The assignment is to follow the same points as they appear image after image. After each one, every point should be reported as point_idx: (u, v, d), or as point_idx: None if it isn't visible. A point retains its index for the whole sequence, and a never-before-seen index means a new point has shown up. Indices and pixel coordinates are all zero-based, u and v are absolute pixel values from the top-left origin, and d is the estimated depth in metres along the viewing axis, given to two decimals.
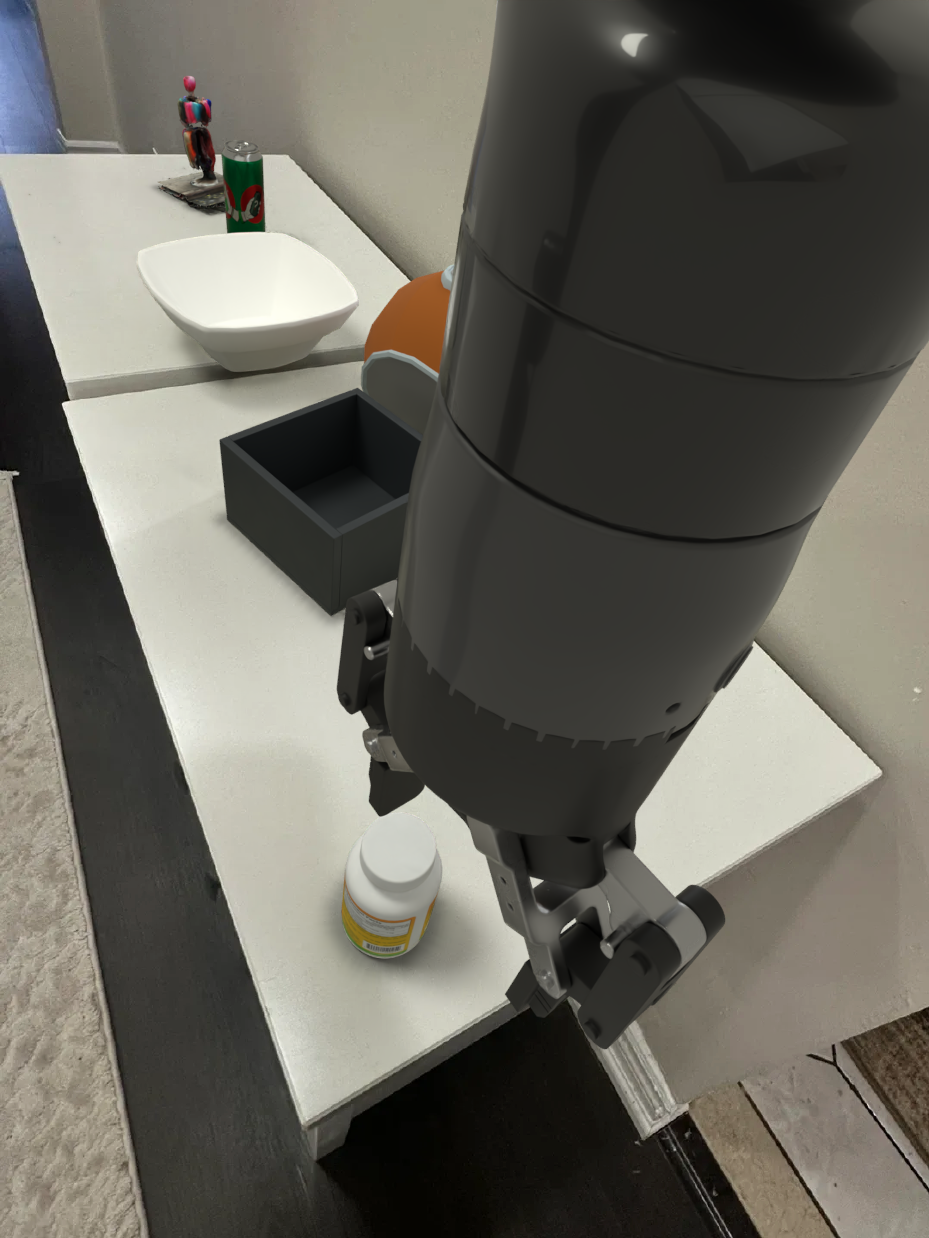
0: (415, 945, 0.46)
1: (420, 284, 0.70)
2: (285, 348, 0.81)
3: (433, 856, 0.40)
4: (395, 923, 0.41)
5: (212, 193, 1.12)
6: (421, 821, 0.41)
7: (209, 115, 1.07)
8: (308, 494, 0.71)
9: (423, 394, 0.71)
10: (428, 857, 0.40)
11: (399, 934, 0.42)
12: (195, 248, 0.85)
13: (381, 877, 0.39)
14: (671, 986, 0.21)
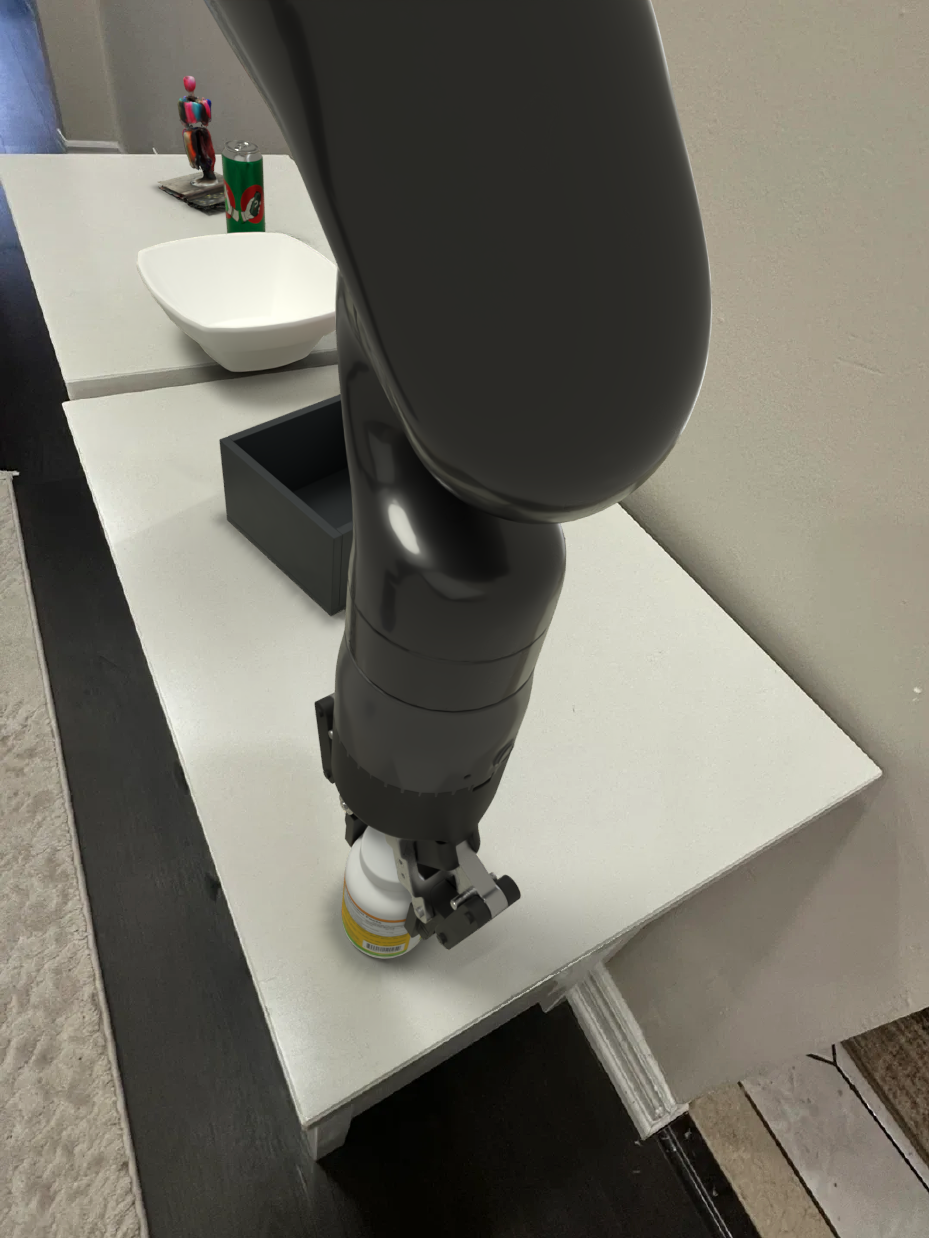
0: (415, 945, 0.46)
1: None
2: (285, 348, 0.81)
3: None
4: (395, 923, 0.41)
5: (212, 193, 1.12)
6: None
7: (209, 115, 1.07)
8: (308, 494, 0.71)
9: None
10: None
11: (399, 933, 0.42)
12: (195, 248, 0.85)
13: (381, 876, 0.39)
14: None
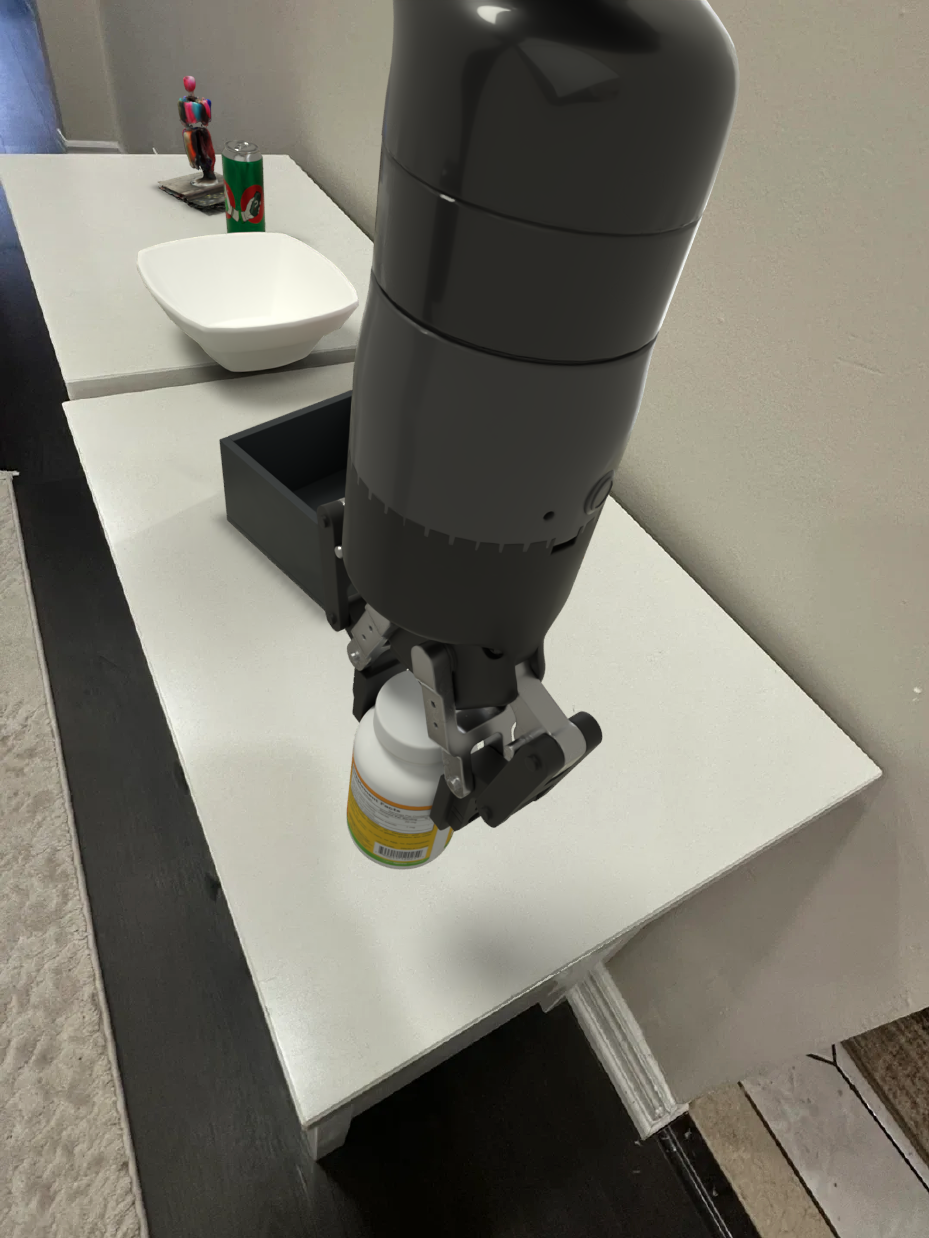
0: (439, 854, 0.36)
1: None
2: (285, 348, 0.81)
3: None
4: (418, 811, 0.32)
5: (212, 193, 1.12)
6: None
7: (209, 115, 1.07)
8: (308, 494, 0.71)
9: None
10: None
11: (421, 829, 0.33)
12: (195, 248, 0.85)
13: (402, 741, 0.30)
14: None
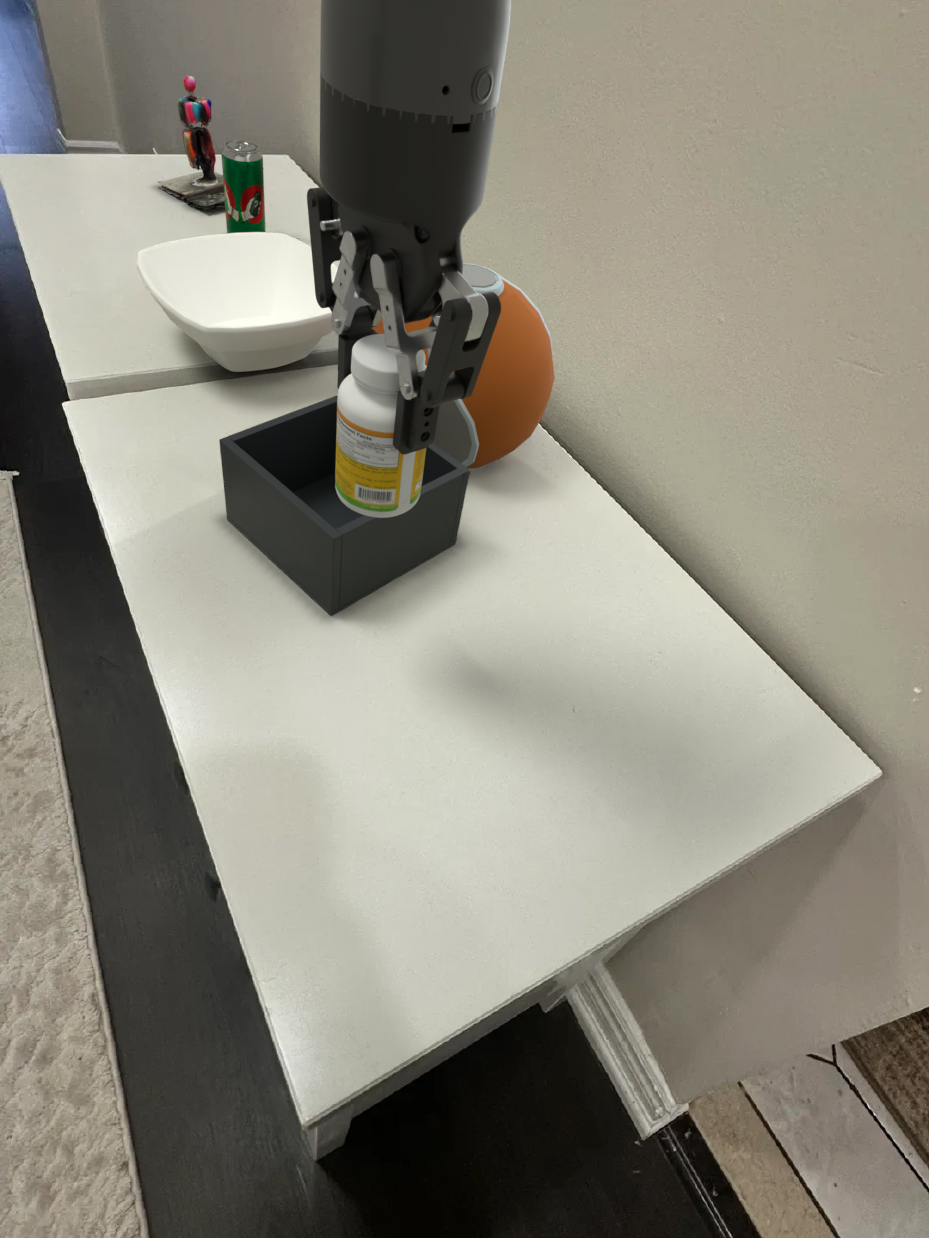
0: (406, 509, 0.47)
1: None
2: (285, 348, 0.81)
3: (422, 361, 0.41)
4: (385, 439, 0.42)
5: (212, 193, 1.12)
6: None
7: (209, 115, 1.07)
8: (308, 494, 0.71)
9: None
10: (417, 361, 0.41)
11: (389, 464, 0.44)
12: (195, 248, 0.85)
13: (370, 367, 0.40)
14: (474, 380, 0.38)
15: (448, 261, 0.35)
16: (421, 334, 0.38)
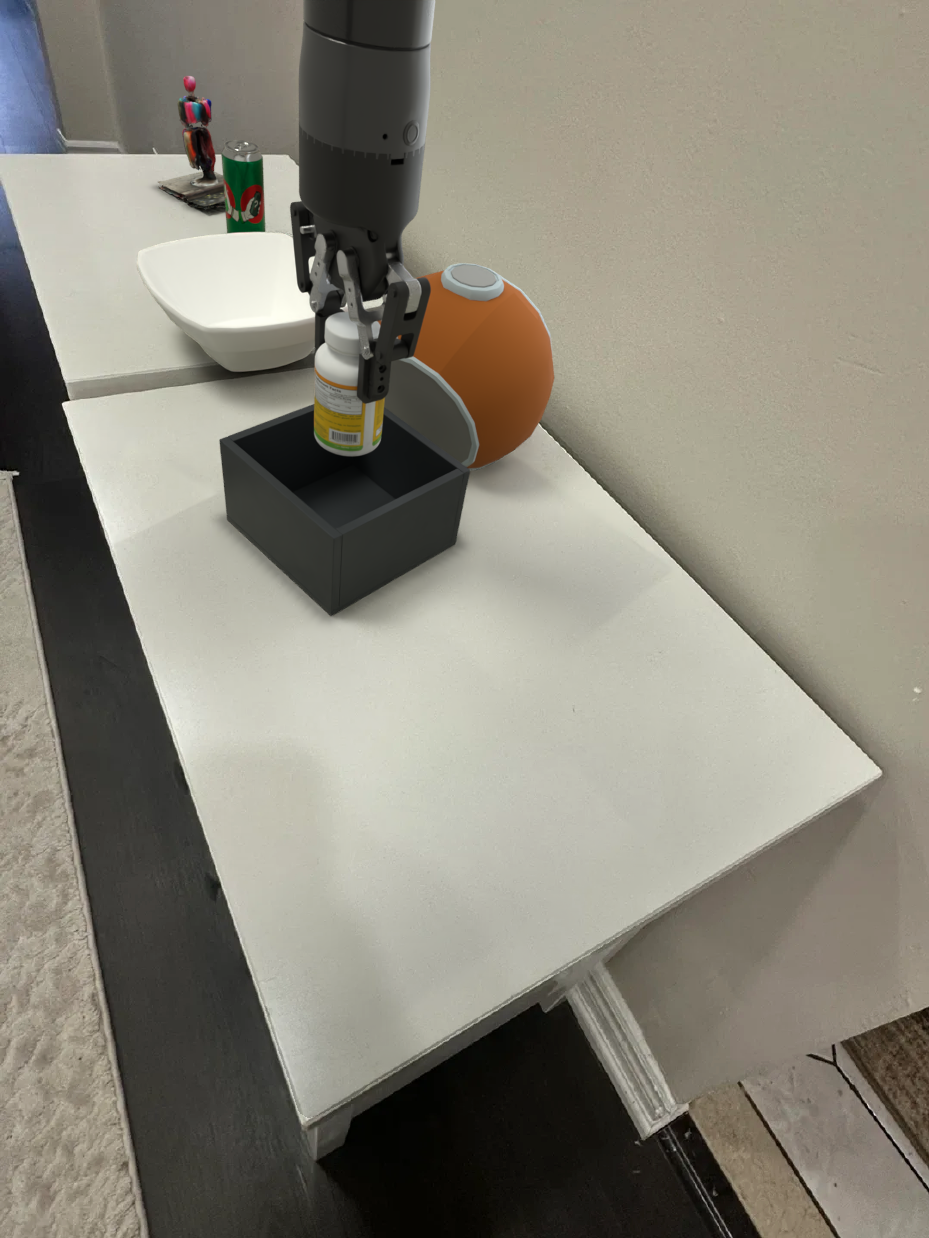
0: (369, 449, 0.60)
1: None
2: (285, 348, 0.81)
3: (378, 331, 0.55)
4: (351, 391, 0.56)
5: (212, 193, 1.12)
6: None
7: (209, 115, 1.07)
8: (308, 494, 0.71)
9: (423, 394, 0.71)
10: (374, 331, 0.55)
11: (355, 411, 0.57)
12: (195, 248, 0.85)
13: (339, 335, 0.54)
14: (415, 344, 0.51)
15: (392, 255, 0.48)
16: (375, 310, 0.51)
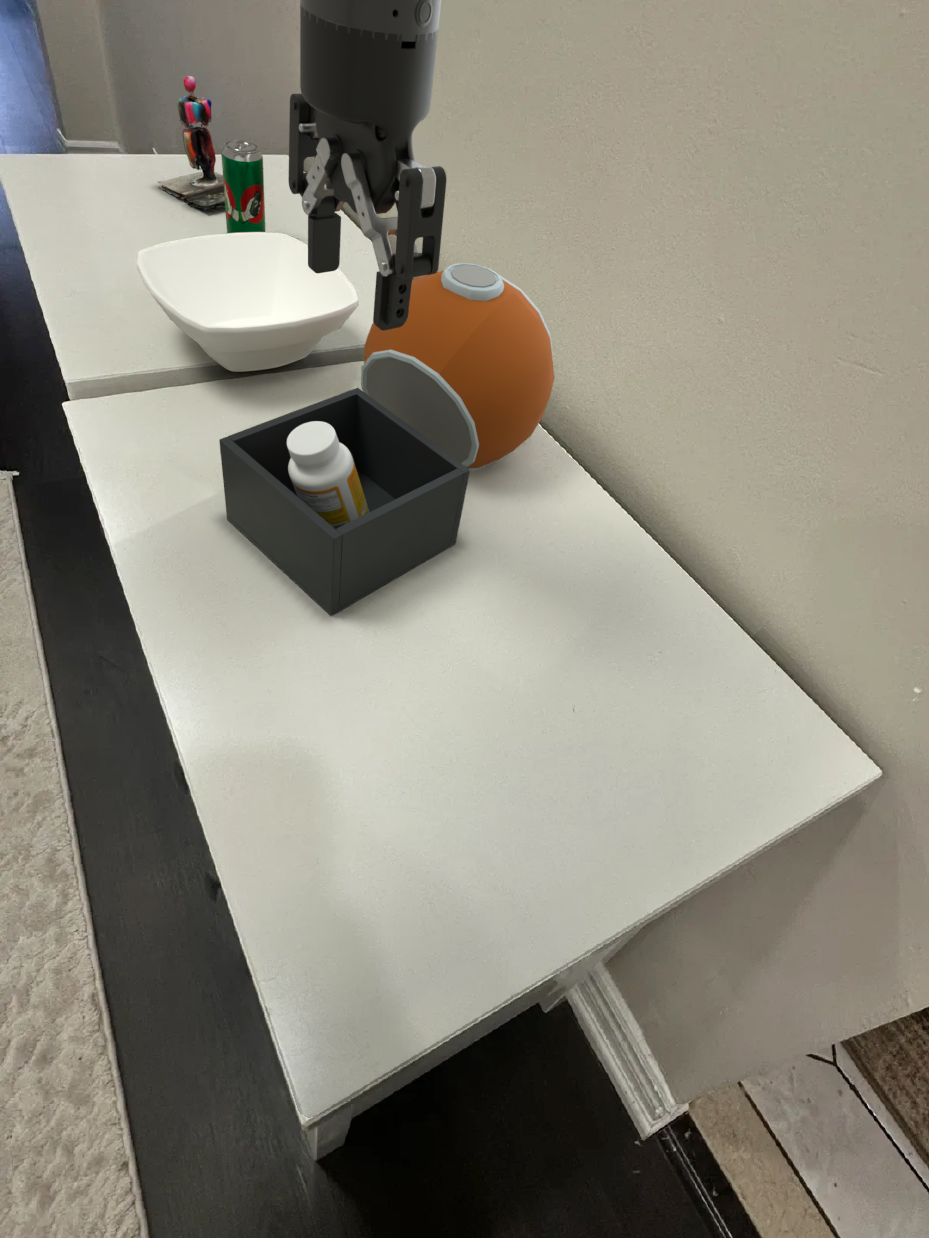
0: None
1: (420, 284, 0.70)
2: (285, 348, 0.81)
3: (333, 437, 0.60)
4: (326, 494, 0.62)
5: (212, 193, 1.12)
6: (324, 423, 0.61)
7: (209, 115, 1.07)
8: None
9: (423, 394, 0.71)
10: (329, 439, 0.60)
11: (335, 507, 0.63)
12: (195, 248, 0.85)
13: (300, 454, 0.60)
14: (438, 252, 0.46)
15: None
16: (389, 218, 0.47)
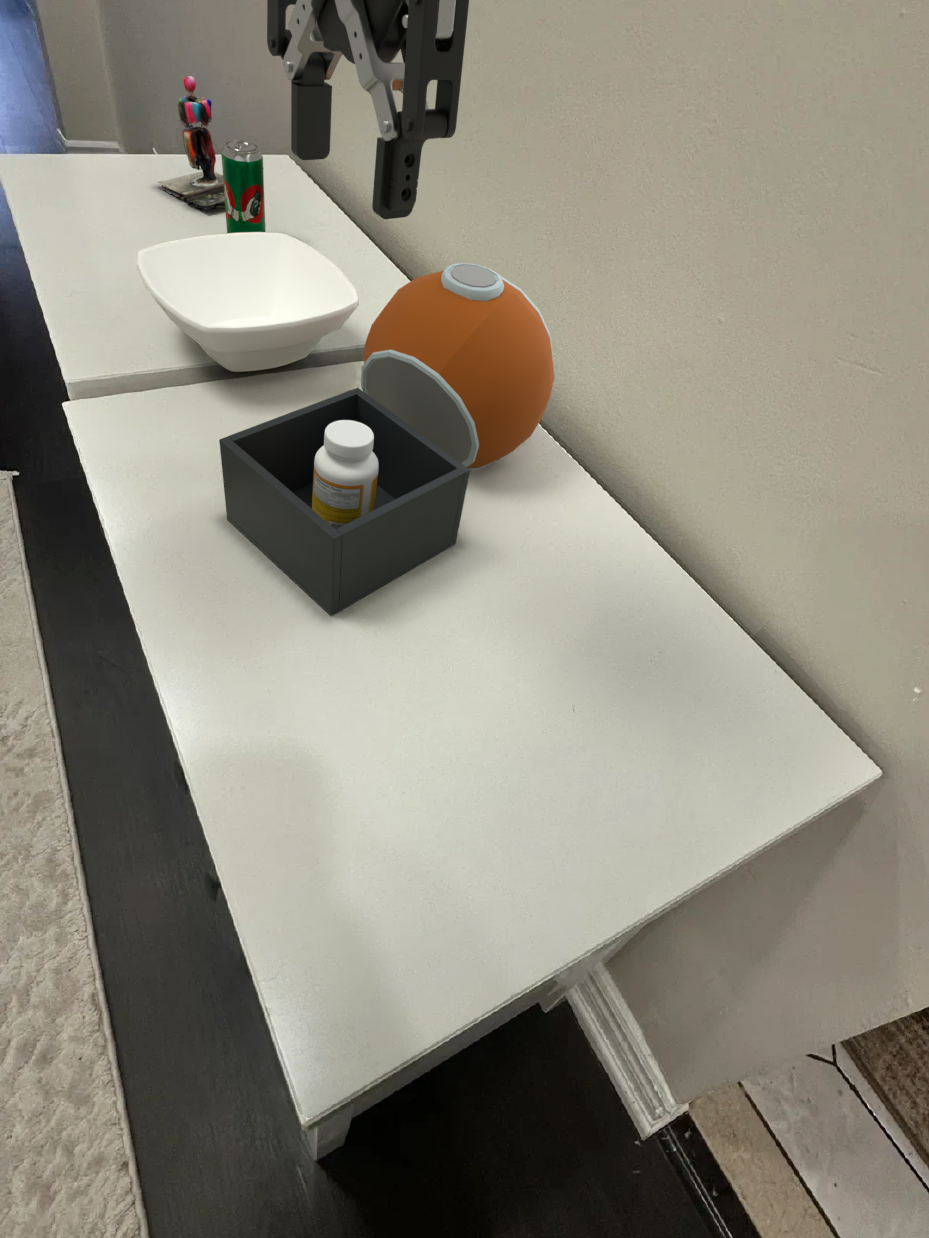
0: None
1: (420, 284, 0.70)
2: (285, 348, 0.81)
3: (372, 437, 0.62)
4: (350, 490, 0.63)
5: (212, 193, 1.12)
6: (362, 424, 0.63)
7: (209, 115, 1.07)
8: (308, 494, 0.71)
9: (423, 394, 0.71)
10: (369, 438, 0.62)
11: (353, 506, 0.64)
12: (195, 248, 0.85)
13: (339, 444, 0.61)
14: (456, 106, 0.37)
15: None
16: (394, 63, 0.37)
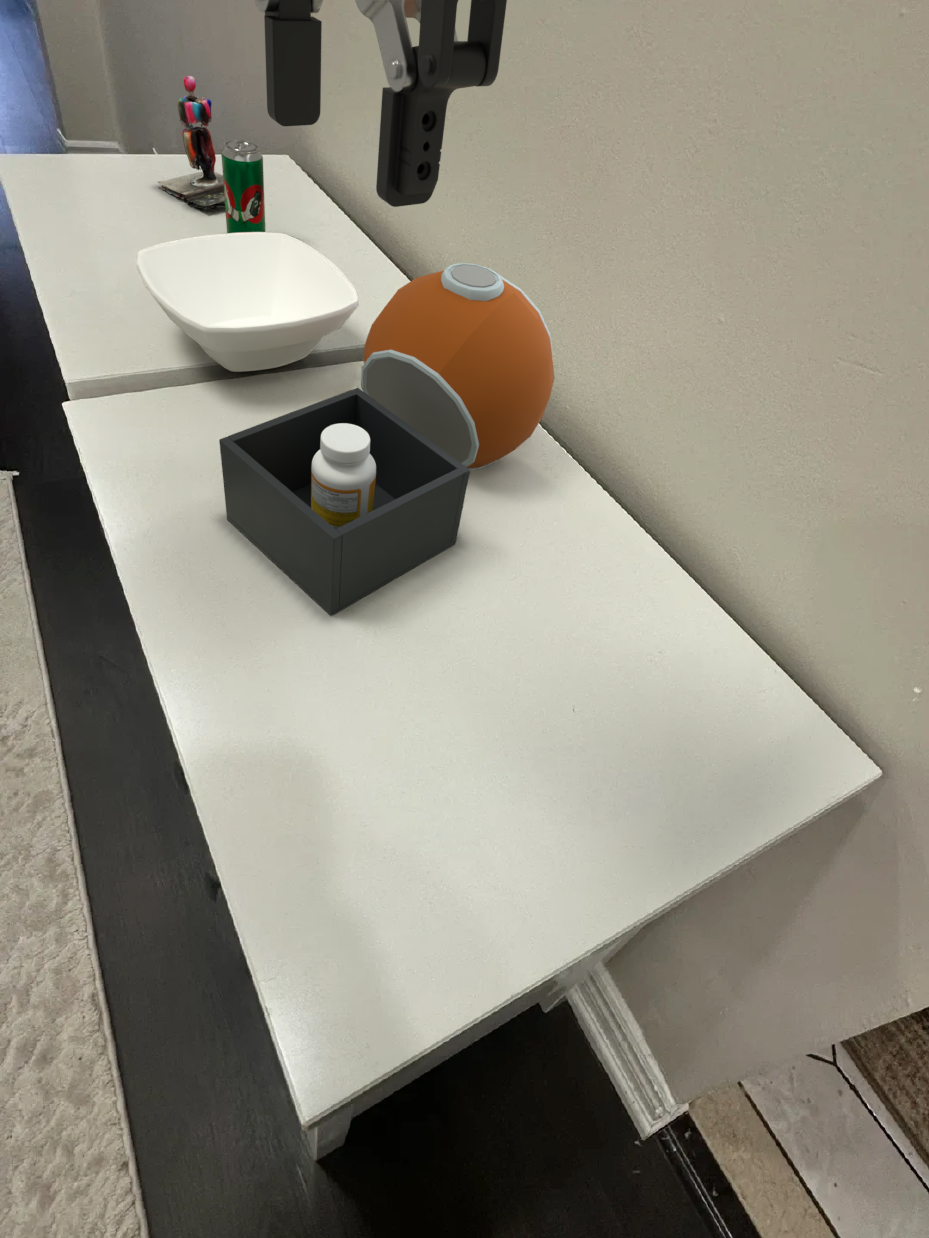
0: None
1: (420, 284, 0.70)
2: (285, 348, 0.81)
3: (368, 441, 0.62)
4: (348, 494, 0.63)
5: (212, 193, 1.12)
6: (358, 427, 0.63)
7: (209, 115, 1.07)
8: (308, 494, 0.71)
9: (423, 394, 0.71)
10: (365, 442, 0.62)
11: (351, 510, 0.64)
12: (195, 248, 0.85)
13: (335, 450, 0.61)
14: (499, 36, 0.24)
15: None
16: None
